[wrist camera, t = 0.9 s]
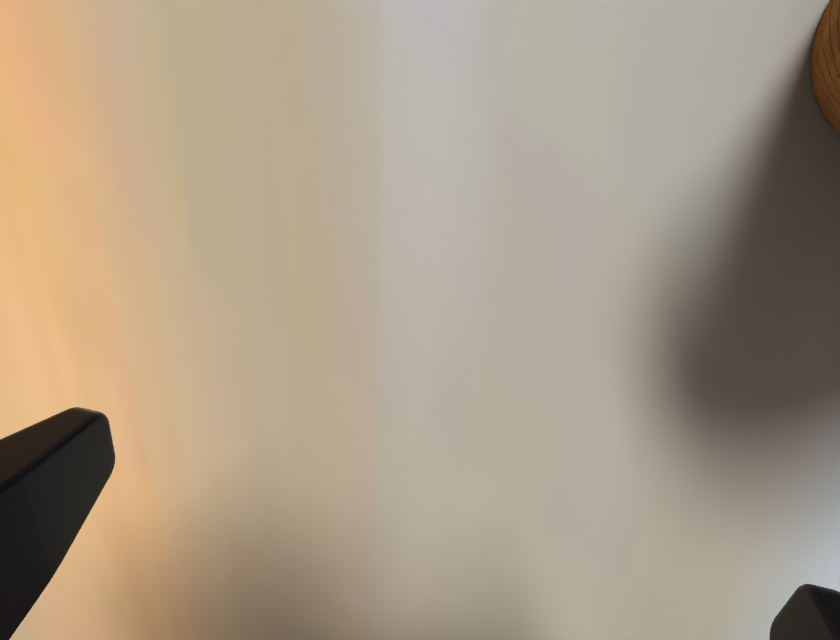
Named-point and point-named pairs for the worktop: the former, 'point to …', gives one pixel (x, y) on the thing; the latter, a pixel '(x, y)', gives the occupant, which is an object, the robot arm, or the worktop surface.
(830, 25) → the disposable coffee cup
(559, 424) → the worktop surface
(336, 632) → the worktop surface
